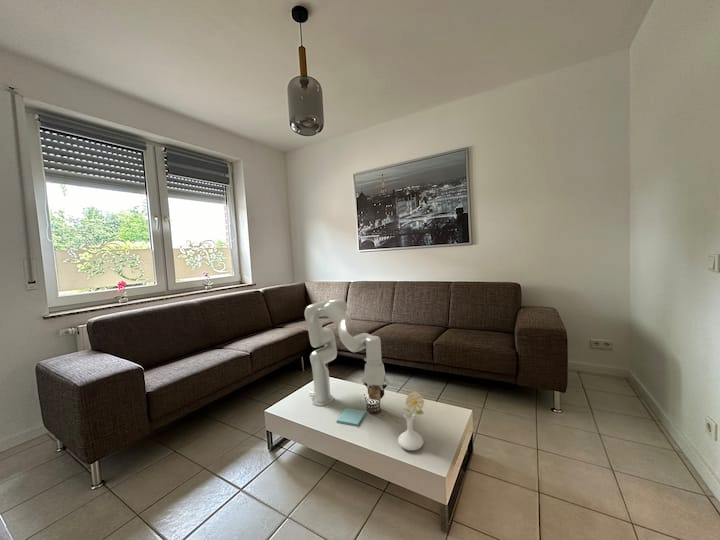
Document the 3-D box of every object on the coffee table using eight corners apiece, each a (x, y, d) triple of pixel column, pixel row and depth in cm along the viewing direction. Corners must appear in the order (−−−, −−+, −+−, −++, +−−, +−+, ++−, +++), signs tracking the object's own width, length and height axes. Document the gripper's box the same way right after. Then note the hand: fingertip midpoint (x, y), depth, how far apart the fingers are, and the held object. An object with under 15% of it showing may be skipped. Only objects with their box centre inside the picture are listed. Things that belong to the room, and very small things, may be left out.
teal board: (336, 422, 148) (336, 420, 148) (346, 410, 159) (345, 408, 159) (357, 426, 144) (357, 424, 144) (365, 413, 155) (365, 411, 155)
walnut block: (369, 398, 142) (368, 389, 141) (372, 393, 147) (372, 384, 146) (380, 400, 140) (379, 390, 139) (383, 394, 145) (382, 385, 144)
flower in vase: (394, 448, 126) (390, 394, 125) (404, 433, 136) (401, 383, 134) (422, 457, 119) (419, 400, 118) (430, 441, 129) (428, 388, 127)
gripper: (355, 362, 141) (357, 397, 143) (388, 365, 135) (390, 402, 136) (360, 357, 148) (363, 390, 150) (392, 359, 142) (394, 394, 143)
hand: (376, 395), depth 143 cm, fingers closed on walnut block, 5 cm apart
